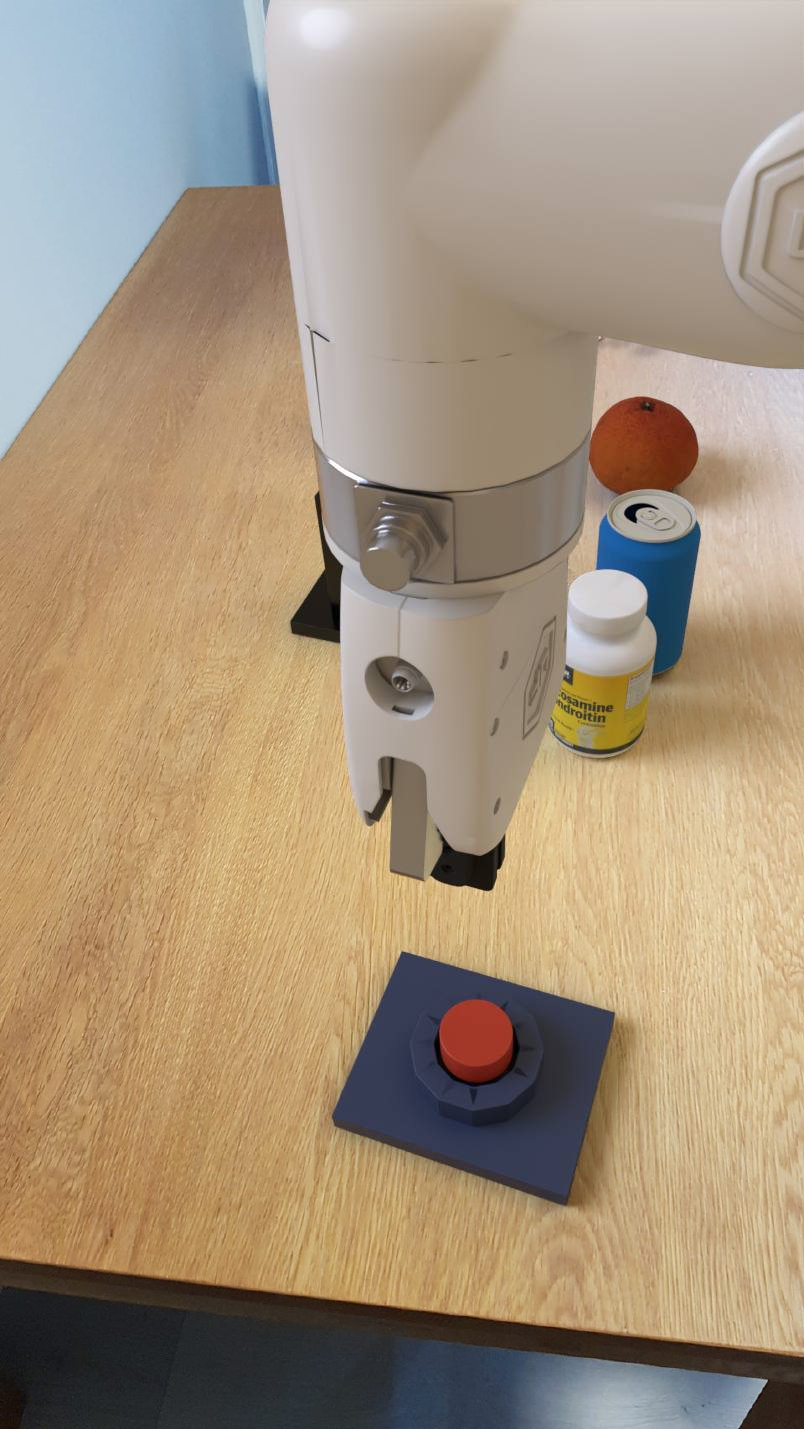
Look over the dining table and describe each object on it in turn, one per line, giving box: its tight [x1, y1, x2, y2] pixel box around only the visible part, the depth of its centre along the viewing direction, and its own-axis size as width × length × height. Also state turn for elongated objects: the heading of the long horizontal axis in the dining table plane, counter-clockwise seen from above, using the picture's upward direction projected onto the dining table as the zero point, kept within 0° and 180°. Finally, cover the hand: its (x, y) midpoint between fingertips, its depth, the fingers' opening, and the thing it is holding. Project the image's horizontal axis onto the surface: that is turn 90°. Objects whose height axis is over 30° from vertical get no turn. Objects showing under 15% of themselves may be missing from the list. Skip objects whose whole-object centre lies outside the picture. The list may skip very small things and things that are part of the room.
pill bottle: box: [547, 569, 657, 759], centre depth 68 cm, size 6×6×12 cm
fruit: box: [589, 395, 700, 496], centre depth 89 cm, size 9×9×8 cm
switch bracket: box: [289, 490, 343, 644], centre depth 78 cm, size 10×8×12 cm
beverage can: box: [595, 489, 702, 676], centre depth 73 cm, size 6×6×12 cm
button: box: [439, 1000, 513, 1083], centre depth 53 cm, size 4×4×2 cm
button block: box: [331, 950, 616, 1207], centre depth 55 cm, size 12×10×3 cm
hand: (460, 866), depth 43 cm, fingers closed
